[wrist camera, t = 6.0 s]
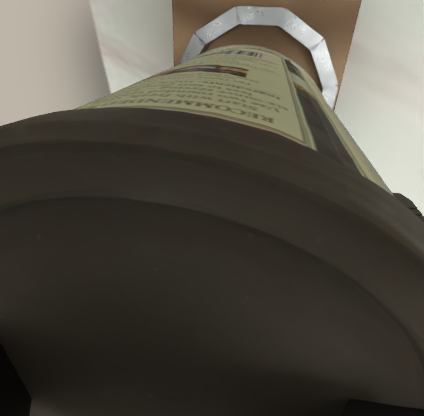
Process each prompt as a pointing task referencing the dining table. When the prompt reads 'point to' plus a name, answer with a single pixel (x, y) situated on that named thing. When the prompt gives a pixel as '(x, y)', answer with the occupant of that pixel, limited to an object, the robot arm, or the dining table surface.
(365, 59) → the dining table surface
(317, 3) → the board
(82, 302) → the coffee can
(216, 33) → the collar
